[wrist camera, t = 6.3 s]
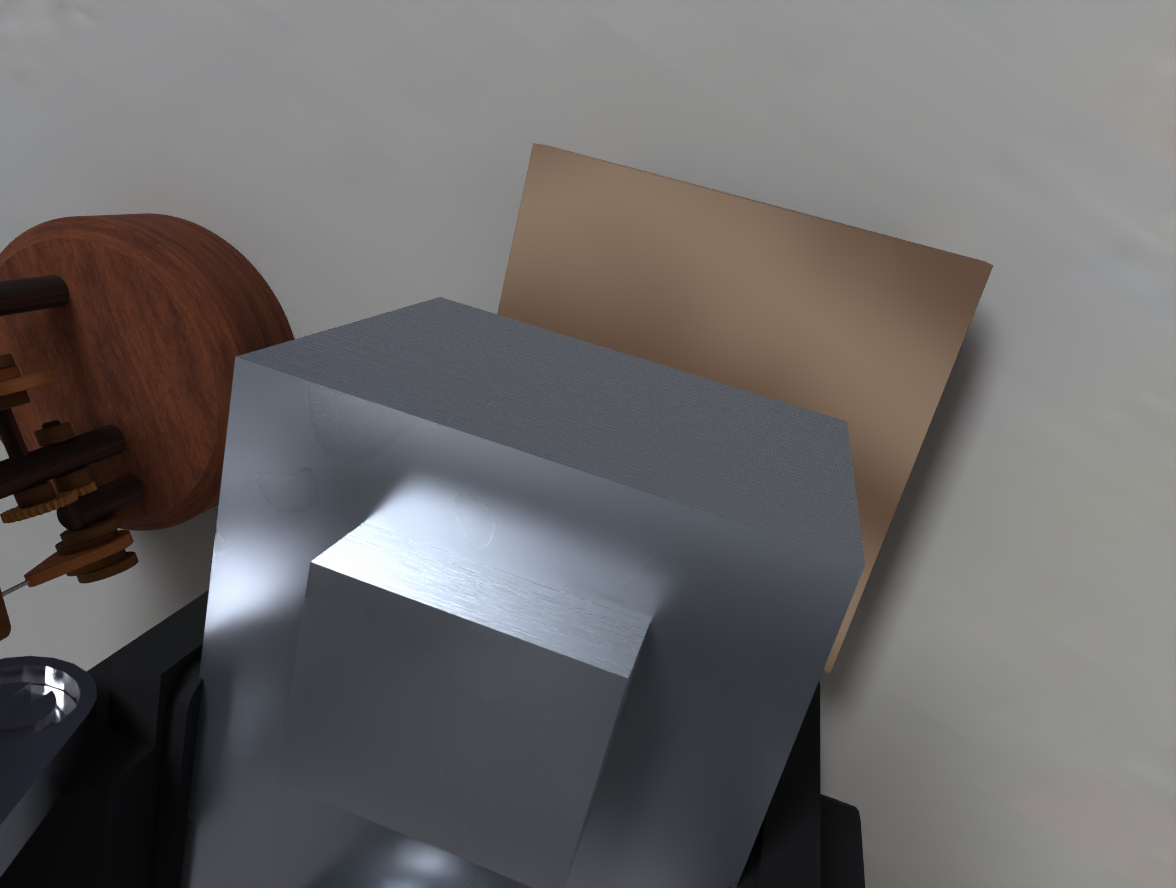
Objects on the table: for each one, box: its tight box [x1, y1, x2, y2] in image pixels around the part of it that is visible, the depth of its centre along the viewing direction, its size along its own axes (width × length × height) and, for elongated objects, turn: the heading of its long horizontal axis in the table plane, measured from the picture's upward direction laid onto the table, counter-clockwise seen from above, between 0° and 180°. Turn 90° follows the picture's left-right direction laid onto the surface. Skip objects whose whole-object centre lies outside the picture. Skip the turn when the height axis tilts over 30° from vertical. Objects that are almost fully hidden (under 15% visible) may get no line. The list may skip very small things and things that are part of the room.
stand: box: [497, 143, 993, 673], centre depth 26 cm, size 12×12×3 cm
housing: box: [180, 297, 865, 888], centre depth 9 cm, size 5×9×5 cm, turn 166°
